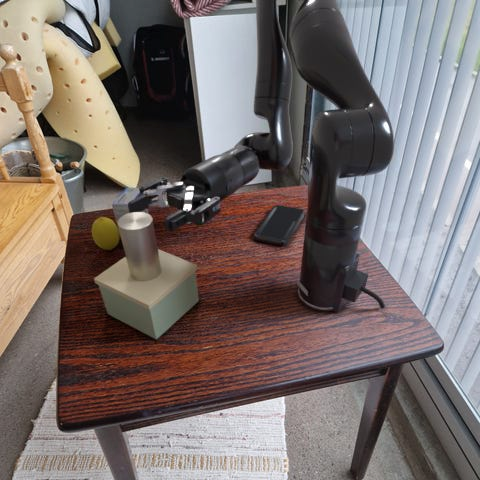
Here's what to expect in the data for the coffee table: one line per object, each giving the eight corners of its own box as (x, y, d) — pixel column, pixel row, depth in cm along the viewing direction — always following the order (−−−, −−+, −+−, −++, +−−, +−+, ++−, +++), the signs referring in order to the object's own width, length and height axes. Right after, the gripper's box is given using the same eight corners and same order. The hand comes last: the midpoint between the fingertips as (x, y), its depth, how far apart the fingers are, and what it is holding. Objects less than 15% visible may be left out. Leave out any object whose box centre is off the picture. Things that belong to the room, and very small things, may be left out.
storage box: (201, 300, 80) (197, 264, 74) (156, 341, 72) (148, 305, 66) (151, 278, 85) (144, 243, 79) (105, 314, 77) (93, 278, 72)
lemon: (92, 254, 91) (82, 221, 86) (106, 240, 95) (97, 208, 90) (114, 259, 90) (105, 226, 84) (127, 245, 94) (119, 213, 88)
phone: (252, 235, 93) (275, 203, 103) (252, 239, 94) (275, 208, 104) (286, 242, 91) (306, 209, 101) (286, 247, 92) (305, 214, 102)
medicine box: (138, 239, 95) (130, 205, 89) (119, 237, 96) (111, 203, 90) (150, 221, 101) (144, 187, 95) (133, 220, 101) (125, 186, 95)
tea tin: (168, 268, 73) (159, 217, 66) (146, 285, 70) (135, 233, 63) (145, 258, 76) (134, 208, 69) (123, 274, 72) (110, 223, 65)
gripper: (183, 151, 77) (113, 183, 68) (244, 171, 71) (176, 210, 62) (187, 189, 82) (123, 224, 73) (244, 211, 76) (182, 252, 67)
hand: (147, 217), depth 67 cm, fingers open, 8 cm apart
